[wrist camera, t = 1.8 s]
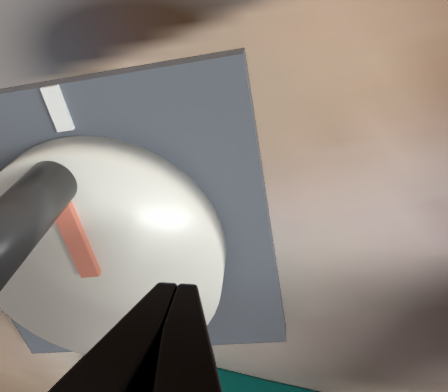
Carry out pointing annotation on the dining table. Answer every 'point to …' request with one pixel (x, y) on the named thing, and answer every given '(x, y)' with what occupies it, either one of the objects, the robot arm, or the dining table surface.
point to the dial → (100, 237)
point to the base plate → (174, 163)
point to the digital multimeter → (252, 383)
